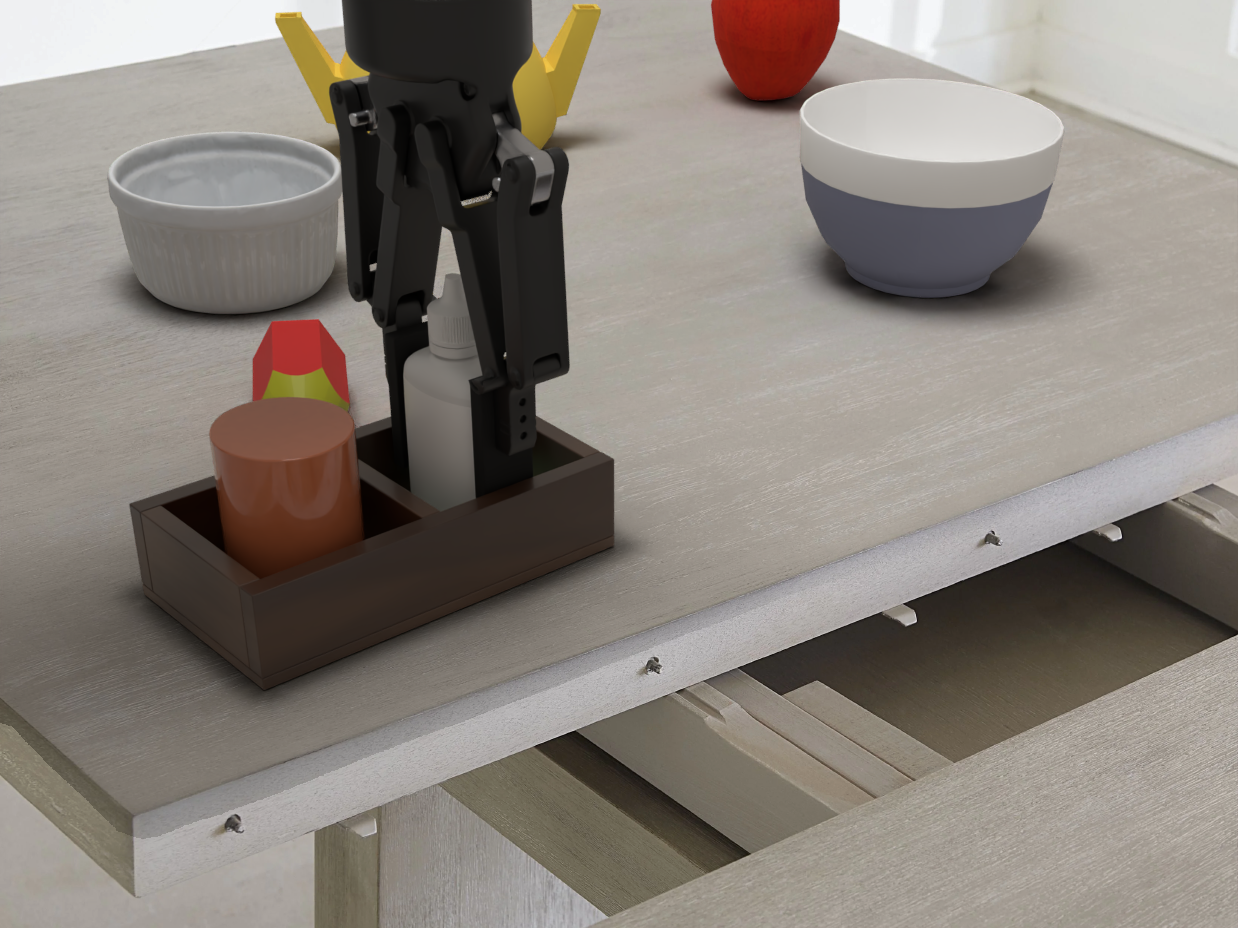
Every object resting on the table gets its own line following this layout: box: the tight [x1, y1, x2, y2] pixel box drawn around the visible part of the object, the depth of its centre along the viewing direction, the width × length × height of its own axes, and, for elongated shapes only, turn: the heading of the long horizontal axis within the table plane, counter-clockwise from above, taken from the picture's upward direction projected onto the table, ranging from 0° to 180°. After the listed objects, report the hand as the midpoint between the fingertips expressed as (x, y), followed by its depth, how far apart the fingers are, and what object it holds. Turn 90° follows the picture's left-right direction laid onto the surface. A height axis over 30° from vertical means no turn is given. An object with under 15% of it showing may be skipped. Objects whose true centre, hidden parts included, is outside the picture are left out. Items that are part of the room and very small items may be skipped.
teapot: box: [274, 3, 602, 150], centre depth 132 cm, size 17×17×12 cm
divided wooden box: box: [128, 415, 615, 691], centre depth 86 cm, size 10×19×5 cm, turn 133°
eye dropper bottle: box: [403, 272, 482, 512], centre depth 86 cm, size 4×6×12 cm
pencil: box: [252, 318, 351, 413], centre depth 96 cm, size 5×12×4 cm, turn 12°
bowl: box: [799, 77, 1065, 299], centre depth 117 cm, size 16×16×10 cm
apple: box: [710, 0, 841, 102], centre depth 144 cm, size 10×10×12 cm
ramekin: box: [107, 131, 343, 315], centre depth 112 cm, size 13×13×7 cm
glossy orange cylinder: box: [208, 397, 365, 579], centre depth 82 cm, size 6×6×8 cm
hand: (463, 481), depth 89 cm, fingers closed on eye dropper bottle, 6 cm apart
